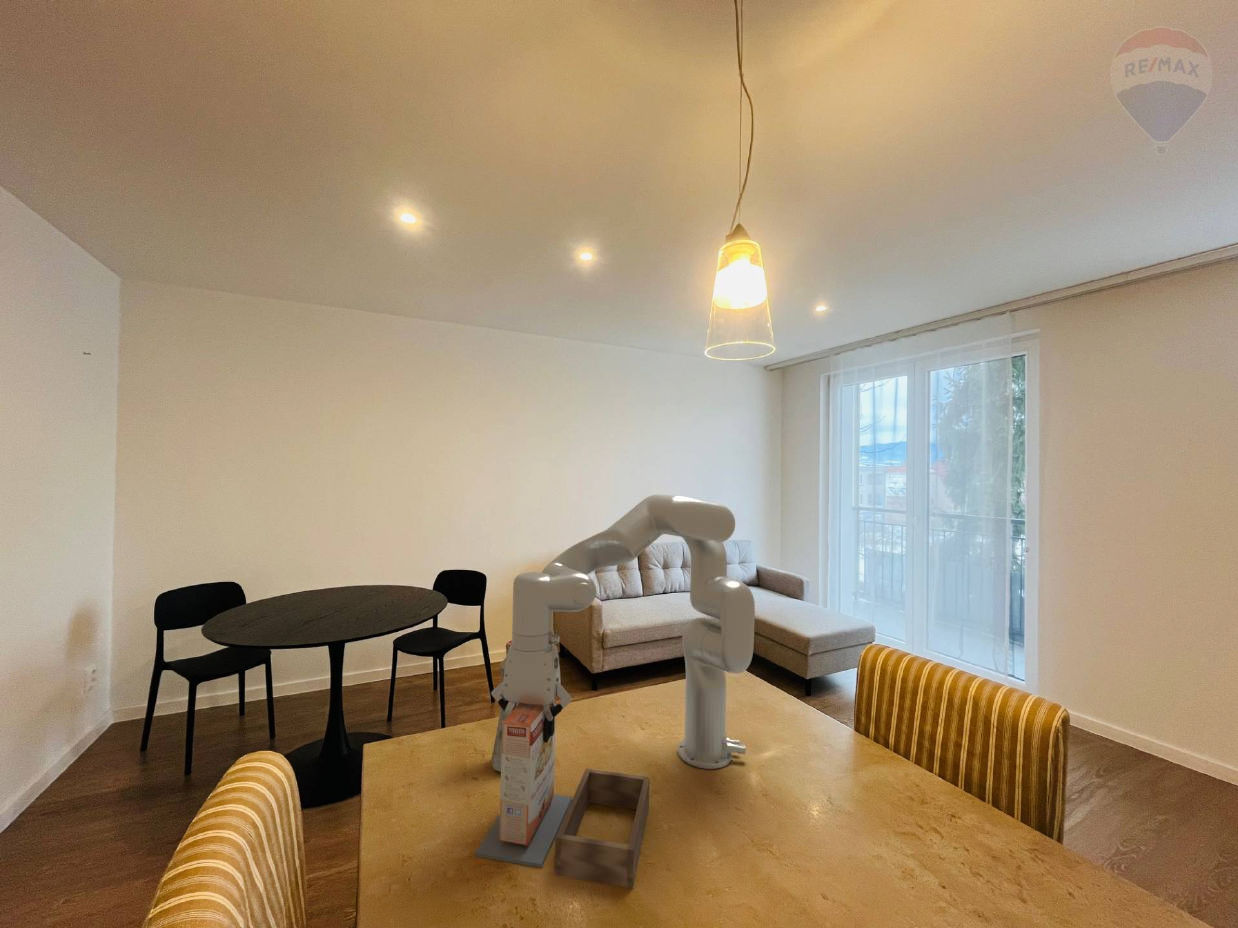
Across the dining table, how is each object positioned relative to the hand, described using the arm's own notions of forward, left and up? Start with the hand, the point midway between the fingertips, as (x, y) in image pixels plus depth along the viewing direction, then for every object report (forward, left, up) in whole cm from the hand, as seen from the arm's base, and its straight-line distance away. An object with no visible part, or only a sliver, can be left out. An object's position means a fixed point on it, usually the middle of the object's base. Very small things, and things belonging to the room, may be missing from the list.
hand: (530, 735), depth 94 cm
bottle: (+11, -18, -17) cm, 27 cm away
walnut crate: (-15, 0, -16) cm, 22 cm away
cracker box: (0, 0, -15) cm, 15 cm away
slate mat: (0, 0, -16) cm, 17 cm away
